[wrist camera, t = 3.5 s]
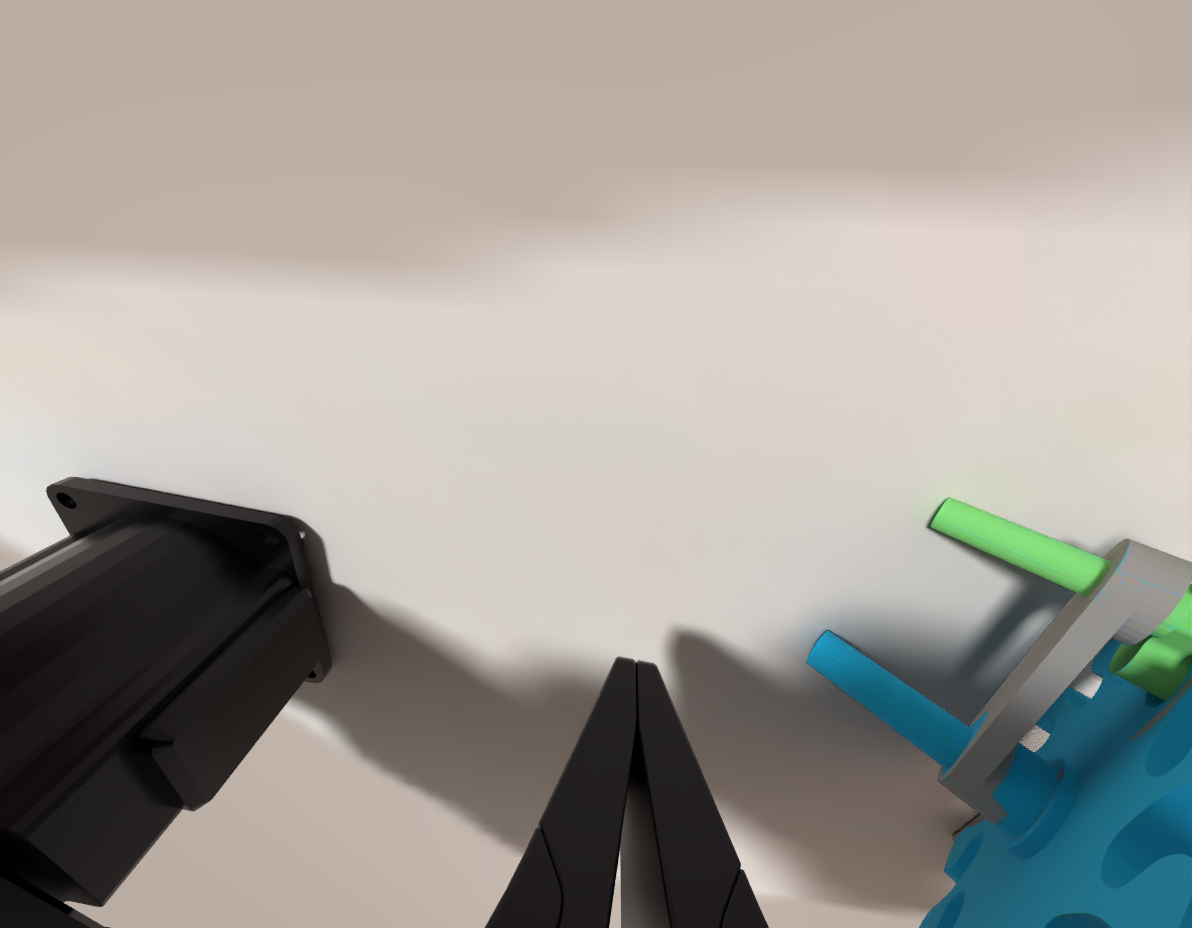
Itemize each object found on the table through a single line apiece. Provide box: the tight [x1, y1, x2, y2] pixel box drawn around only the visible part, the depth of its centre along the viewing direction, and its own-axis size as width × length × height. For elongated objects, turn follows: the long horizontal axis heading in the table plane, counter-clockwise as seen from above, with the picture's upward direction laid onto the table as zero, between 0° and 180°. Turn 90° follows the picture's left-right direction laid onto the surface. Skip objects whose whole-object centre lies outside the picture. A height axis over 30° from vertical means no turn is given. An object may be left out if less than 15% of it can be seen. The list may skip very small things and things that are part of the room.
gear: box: [806, 497, 1192, 928], centre depth 9 cm, size 11×6×10 cm
